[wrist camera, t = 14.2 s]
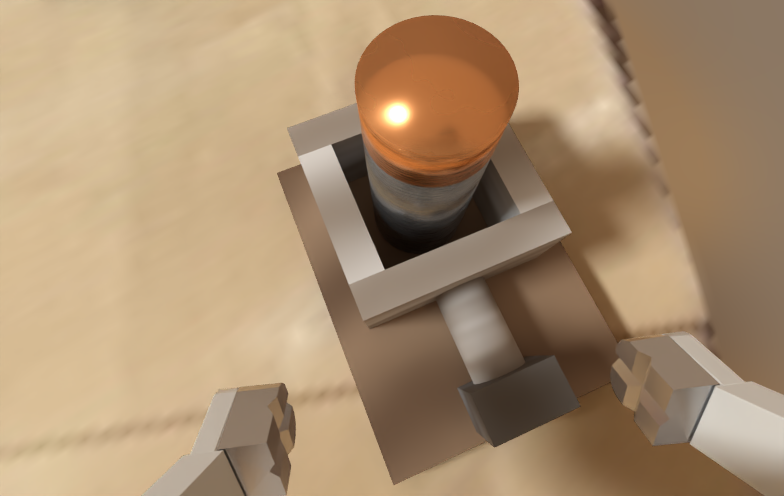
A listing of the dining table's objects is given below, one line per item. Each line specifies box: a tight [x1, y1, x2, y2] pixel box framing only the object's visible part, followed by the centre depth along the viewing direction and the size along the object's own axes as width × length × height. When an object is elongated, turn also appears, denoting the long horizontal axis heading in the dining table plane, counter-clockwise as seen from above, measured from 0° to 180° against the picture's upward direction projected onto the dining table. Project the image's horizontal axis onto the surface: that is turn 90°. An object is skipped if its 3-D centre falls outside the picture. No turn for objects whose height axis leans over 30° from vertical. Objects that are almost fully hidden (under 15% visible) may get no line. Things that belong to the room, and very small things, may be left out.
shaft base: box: [277, 103, 619, 485], centre depth 18 cm, size 16×12×6 cm
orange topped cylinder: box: [355, 15, 519, 254], centre depth 15 cm, size 4×4×10 cm
